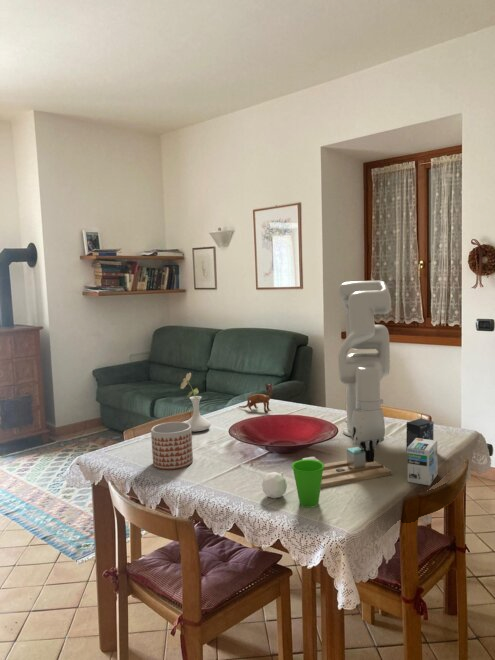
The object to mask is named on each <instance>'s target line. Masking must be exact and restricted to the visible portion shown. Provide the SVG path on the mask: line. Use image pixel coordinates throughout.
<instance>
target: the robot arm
mask: <svg viewBox="0 0 495 660" xmlns="http://www.w3.org/2000/svg"><path fill="white" fill-rule="evenodd" d="M338 296H339V297H338V298H339V300H340V303H341V305H342V307H343V310H344V313H345V331H346V334H345V335H346V336H345V337H346V338H345V339H344V340H343V342H342V343H341V345H340V346H339V350H338V356H337V361H338V362H337V363H338V364H337V365H338V377H339V380H340V382H341V383H342V384H344V385H345V388H346V389H345V392H346V393H345V395H346V419H344V423H346V427H344V428H343V430H342V432H343V434H344V435H345V436H348V437H351V439H353V440H352V444H353V445H355V446H357V447H361V449H363V450H364V451H365V460H366V461H368V462H374V461H375V450H376V448H377V446H378V444H379V443H382V442H383V441H384V440H385V434H386V427H385V426H386V425H385V419H384V416H385V415H384V412H383V408H382V407H381V405H382V404H383V403H384V400H383V399H382V398H381V382H382V381H381V380H383V378H385V377H387V376H388V375H389V374H390V369H391V360H390V358H391V355H390V354H391V352H390V334H389V333H390V332H389V329H388V327H386V326H385V325H384V324H375V315H386V314H387V315H388V314H389V313H390V312H391V309H392V298H391V293H390V291H389V288H388V285H387V283H386V282H385V281H384V280H355V281H345V282H342V283H341V284H340V285H339V286H338ZM350 350H358V351H364V350H365V351H366V350H370V351H371V350H375V351H376V352H353V353H348V352H349V351H350Z"/></svg>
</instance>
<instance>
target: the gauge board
mask: <svg viewBox="0 0 495 660" xmlns="http://www.w3.org/2000/svg"><path fill="white" fill-rule="evenodd" d="M305 459H311V460H317V461H320V460H319V459H318V458H316V457H315V456H309V457H304V458H301V460H305ZM365 461H366V460H365ZM323 464H324V468H323V473H322V480H321V488H329V487H333V486H338V485H344V484H348V483H349V484H350V483H355V482H360V481H365V480H370V479H376V478H380V477H386V476H392V469H389V468H387V467H385V465H384V464H382V463H379V462H377V461H375V460H374V462H368V461H366V467H363V468H358V469H352V468H350V467H349V466H347V459H346V460H342V461H341V460H340V461H335V462H328V463H323ZM321 488H320V489H321Z"/></svg>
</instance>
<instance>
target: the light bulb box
mask: <svg viewBox="0 0 495 660" xmlns="http://www.w3.org/2000/svg"><path fill="white" fill-rule="evenodd" d="M406 456H407V457H406V459H407V482H408V483H413V484H417V485H418V484H419V485H425V486H431V484H432V483H433V481H435V478H437V475H438V440H435V439H433V440H428V439H421V438H416V439H415V440H414V441H413V442H412V443H411V444H410V445H409V446H408V447H407V451H406Z"/></svg>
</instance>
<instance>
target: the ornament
mask: <svg viewBox="0 0 495 660" xmlns="http://www.w3.org/2000/svg"><path fill="white" fill-rule="evenodd" d="M261 484H262V485H261V487H262V492H263V493H264V495H266V496H267V497H269V498H272V499H278V498H281V497H282V496H283V495H284V494H286V491H287V488H288V483H287V480H286V478H285V477H284V472H282V471H280V472H276V471H273V472H269V473H267V474H266V475H265V476H264V477H263V479H262V482H261Z"/></svg>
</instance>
